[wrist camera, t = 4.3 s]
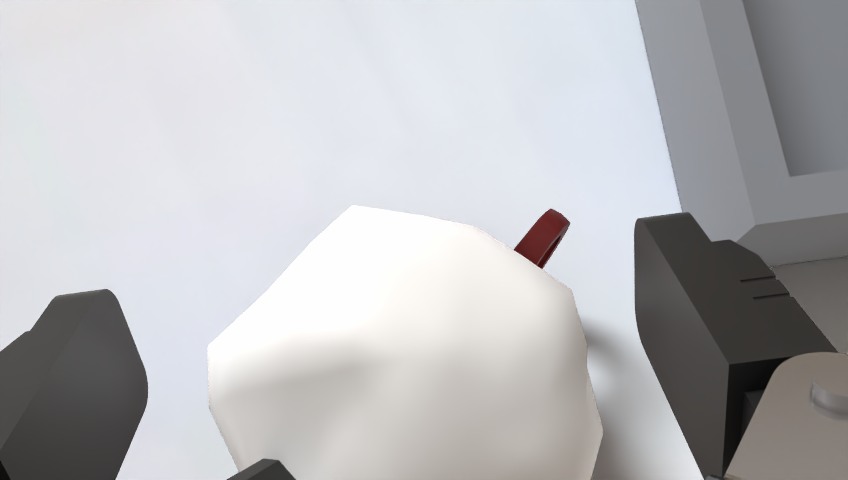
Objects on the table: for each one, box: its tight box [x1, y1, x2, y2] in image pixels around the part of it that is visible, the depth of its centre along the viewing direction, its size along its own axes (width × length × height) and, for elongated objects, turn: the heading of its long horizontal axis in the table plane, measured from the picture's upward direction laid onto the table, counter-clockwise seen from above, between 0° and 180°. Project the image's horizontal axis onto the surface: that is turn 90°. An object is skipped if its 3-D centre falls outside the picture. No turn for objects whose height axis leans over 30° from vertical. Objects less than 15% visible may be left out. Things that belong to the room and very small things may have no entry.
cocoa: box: [208, 205, 604, 480], centre depth 12 cm, size 10×6×12 cm, turn 118°
